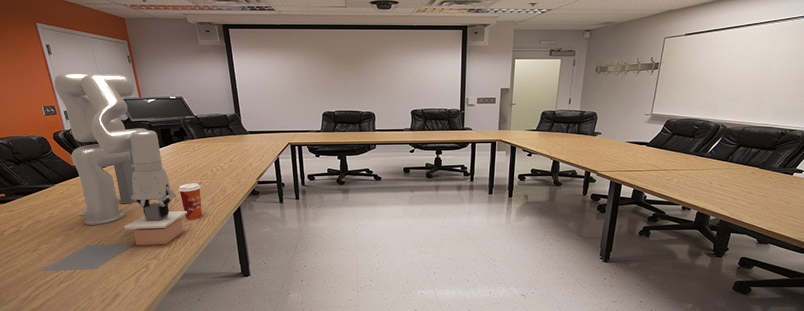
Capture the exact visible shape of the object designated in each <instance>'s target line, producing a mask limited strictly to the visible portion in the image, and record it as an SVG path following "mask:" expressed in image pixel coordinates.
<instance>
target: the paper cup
mask: <svg viewBox="0 0 804 311" xmlns="http://www.w3.org/2000/svg"><path fill="white" fill-rule="evenodd" d="M178 192H179V194H180V198H181V202H182V206H183V211H187V214H185V215H184V216H185V218H186V220H189V219H191V220H196V218H197V219H199V218H202V215H203V214H202V201H201V186H200V184H199V183H196V182H195V183H193V182H192V183H186V184H182V185H180V186H179V189H178Z"/></svg>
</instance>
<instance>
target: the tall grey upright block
mask: <svg viewBox="0 0 804 311" xmlns="http://www.w3.org/2000/svg"><path fill="white" fill-rule="evenodd" d="M129 152H130V159H129V161H128V162H126V163H123V164H118V165H113V167H114V173H115V178H116V183H117V188H118V193H119V198H120V199H119V204H129V205H131V204H133V203H135V202H136V203H137V201H135V200H133V199H132V198H131V196H132V195H133V189H132V175H133V172H134V171H135V168H134V167H132V166H131V165H132V164H134V162H133V156H132V151H129Z"/></svg>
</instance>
